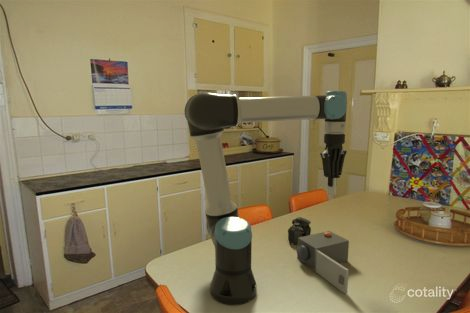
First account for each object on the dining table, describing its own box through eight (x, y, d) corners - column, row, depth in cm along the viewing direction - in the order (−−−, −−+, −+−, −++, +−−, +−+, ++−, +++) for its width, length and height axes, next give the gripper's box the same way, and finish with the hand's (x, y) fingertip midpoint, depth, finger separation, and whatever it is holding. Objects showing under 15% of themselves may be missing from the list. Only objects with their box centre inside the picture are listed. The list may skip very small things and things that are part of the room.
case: (310, 271, 118) (311, 247, 116) (293, 258, 128) (293, 236, 126) (347, 261, 126) (349, 238, 124) (328, 250, 135) (329, 228, 134)
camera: (310, 246, 139) (311, 224, 138) (287, 244, 141) (287, 222, 140) (310, 234, 152) (311, 214, 150) (289, 232, 154) (289, 212, 153)
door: (312, 270, 118) (312, 250, 116) (316, 269, 118) (317, 249, 117) (342, 294, 103) (344, 270, 102) (347, 292, 104) (348, 269, 102)
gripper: (331, 134, 113) (328, 199, 117) (353, 132, 121) (350, 193, 125) (315, 133, 119) (312, 194, 123) (337, 131, 127) (334, 189, 131)
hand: (331, 194), depth 124 cm, fingers closed
